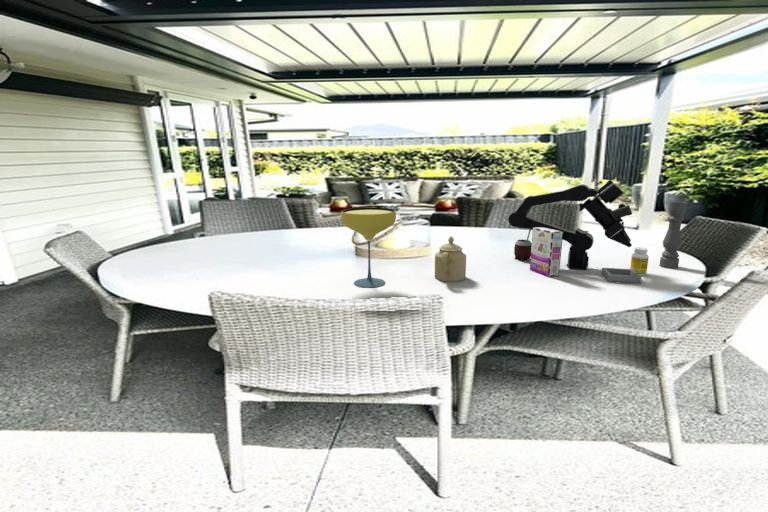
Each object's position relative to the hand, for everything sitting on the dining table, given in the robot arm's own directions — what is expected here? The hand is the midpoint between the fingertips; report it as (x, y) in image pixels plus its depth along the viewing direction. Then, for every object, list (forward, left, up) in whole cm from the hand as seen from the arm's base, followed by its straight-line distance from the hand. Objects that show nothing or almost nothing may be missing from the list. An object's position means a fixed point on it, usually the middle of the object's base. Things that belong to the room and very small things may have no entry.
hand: (630, 244), depth 160 cm
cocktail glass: (-89, -32, -11) cm, 96 cm away
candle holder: (+19, +13, -11) cm, 25 cm away
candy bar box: (-29, -6, -11) cm, 32 cm away
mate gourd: (-35, +14, -11) cm, 40 cm away
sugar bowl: (-62, -21, -11) cm, 67 cm away
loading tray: (-4, -9, -11) cm, 15 cm away
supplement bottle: (+4, -1, -11) cm, 12 cm away
